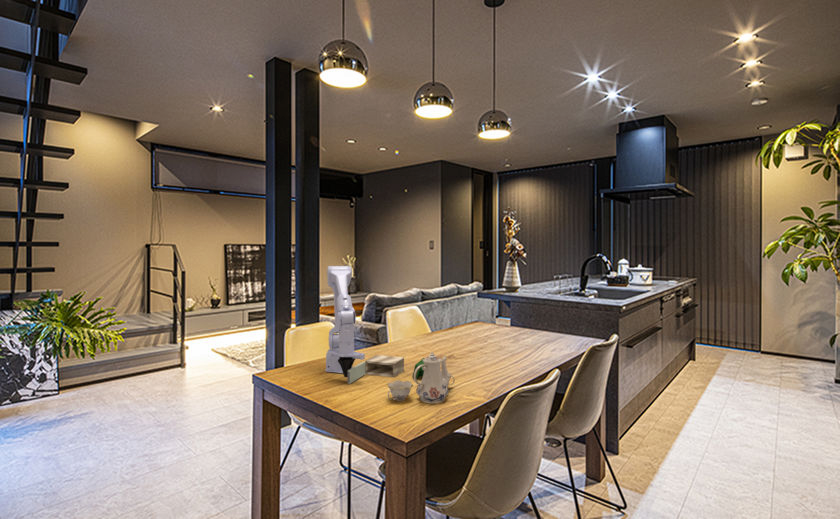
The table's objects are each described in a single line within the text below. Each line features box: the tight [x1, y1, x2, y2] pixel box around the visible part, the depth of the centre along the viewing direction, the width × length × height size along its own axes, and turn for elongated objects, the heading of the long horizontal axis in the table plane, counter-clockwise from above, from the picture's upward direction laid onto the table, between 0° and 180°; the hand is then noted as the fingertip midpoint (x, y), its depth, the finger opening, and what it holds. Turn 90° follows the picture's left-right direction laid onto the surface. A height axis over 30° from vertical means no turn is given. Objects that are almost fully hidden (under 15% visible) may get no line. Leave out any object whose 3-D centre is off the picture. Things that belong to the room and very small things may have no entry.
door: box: [346, 361, 366, 385], centre depth 161 cm, size 14×1×5 cm, turn 161°
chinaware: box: [387, 351, 455, 405], centre depth 142 cm, size 28×17×17 cm, turn 133°
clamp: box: [412, 357, 426, 380], centre depth 165 cm, size 12×6×9 cm, turn 156°
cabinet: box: [364, 354, 405, 378], centre depth 170 cm, size 13×10×6 cm
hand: (346, 376), depth 159 cm, fingers closed
